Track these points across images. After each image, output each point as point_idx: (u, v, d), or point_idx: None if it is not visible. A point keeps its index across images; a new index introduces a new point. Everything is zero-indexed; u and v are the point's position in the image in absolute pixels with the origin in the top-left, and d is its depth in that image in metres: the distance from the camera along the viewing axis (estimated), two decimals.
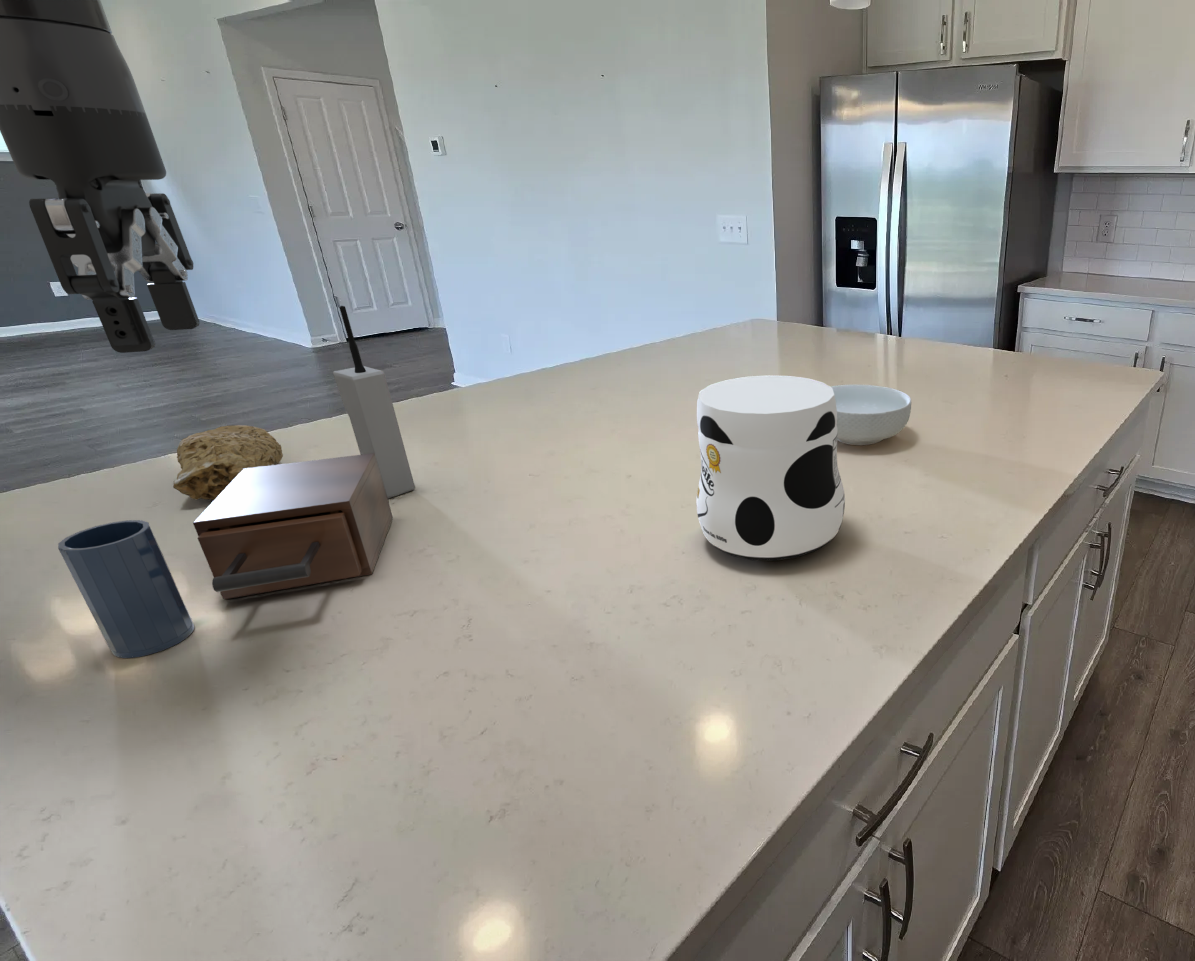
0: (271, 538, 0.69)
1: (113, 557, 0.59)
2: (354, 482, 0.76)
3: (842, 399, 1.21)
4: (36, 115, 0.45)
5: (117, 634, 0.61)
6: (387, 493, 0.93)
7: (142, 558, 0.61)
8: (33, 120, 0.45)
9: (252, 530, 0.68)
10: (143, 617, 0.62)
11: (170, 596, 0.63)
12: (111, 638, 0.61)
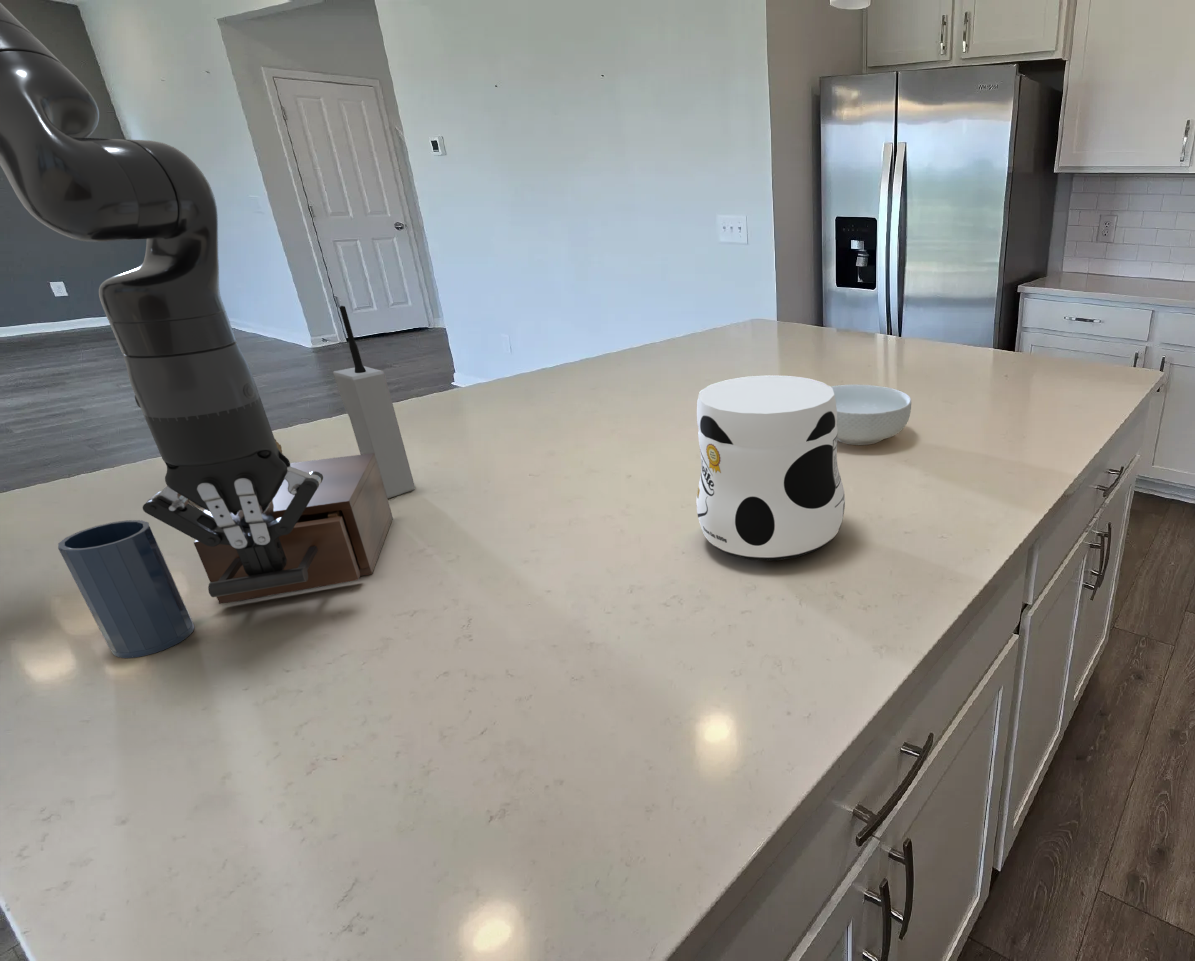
0: None
1: (113, 557, 0.59)
2: (354, 482, 0.76)
3: (842, 399, 1.21)
4: None
5: (117, 634, 0.61)
6: (387, 493, 0.93)
7: (142, 558, 0.61)
8: None
9: None
10: (143, 617, 0.62)
11: (170, 596, 0.63)
12: (111, 638, 0.61)
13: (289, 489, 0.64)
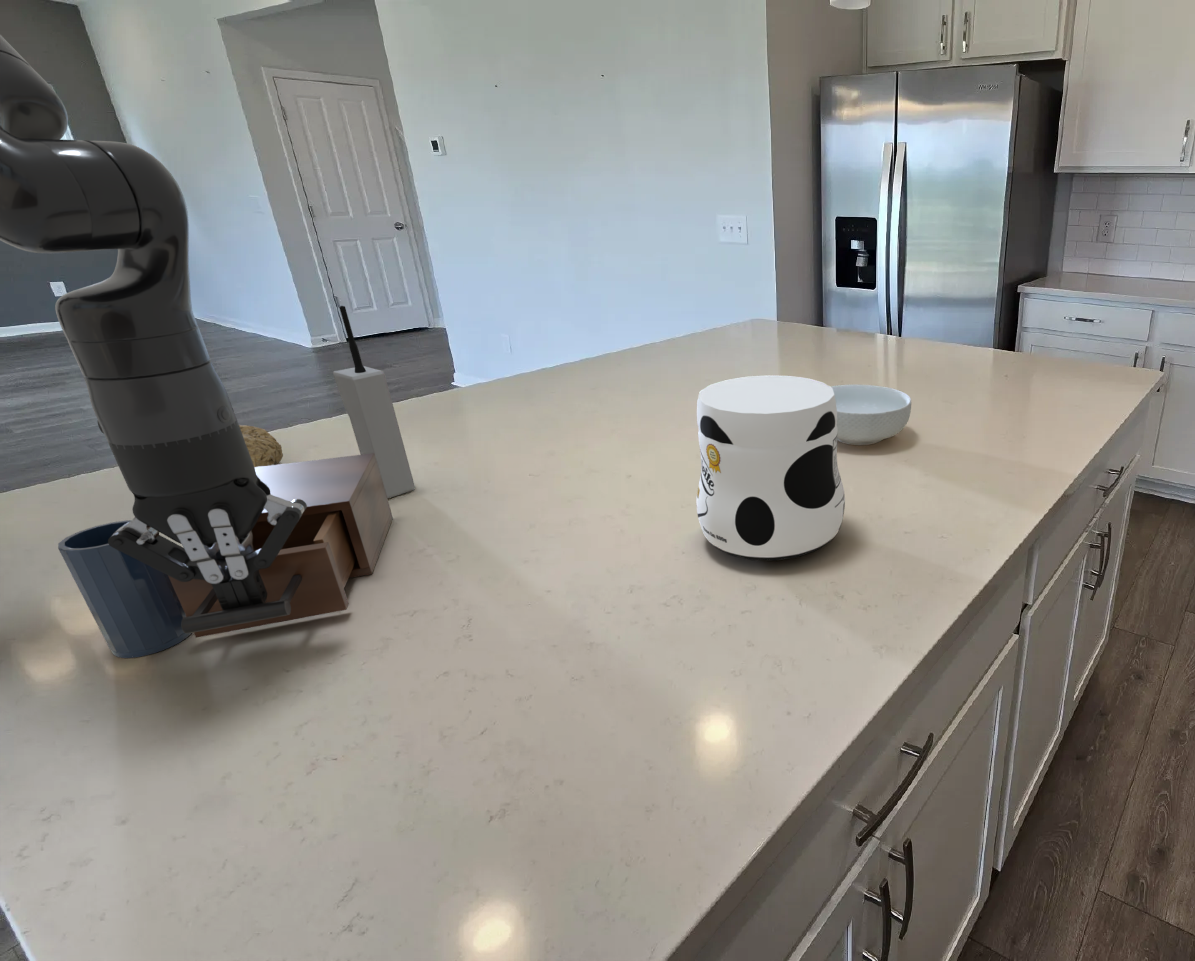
0: None
1: (113, 557, 0.59)
2: (354, 482, 0.76)
3: (842, 399, 1.21)
4: None
5: (117, 634, 0.61)
6: (387, 493, 0.93)
7: None
8: None
9: None
10: (143, 617, 0.62)
11: (170, 596, 0.63)
12: (111, 638, 0.61)
13: (269, 519, 0.59)
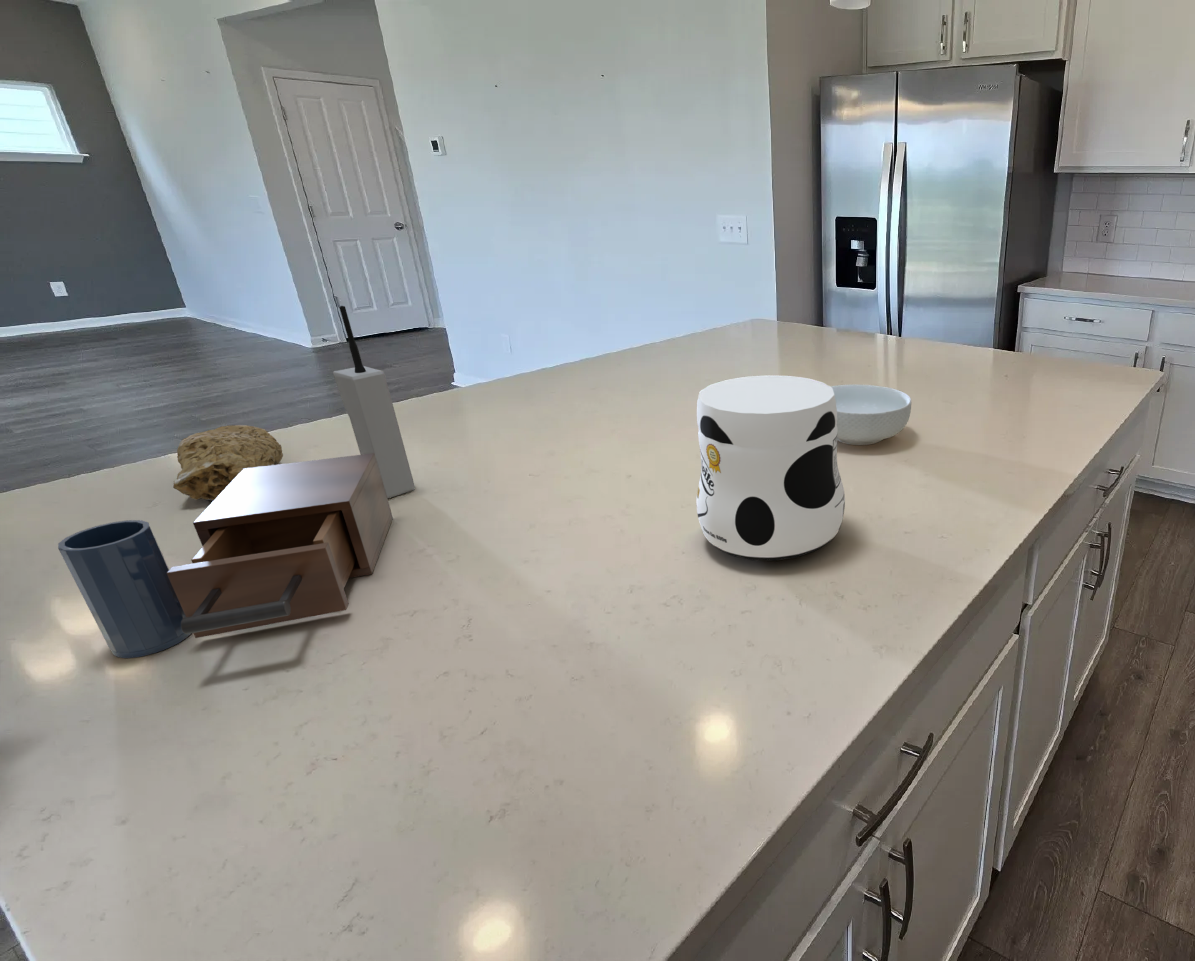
0: (248, 572, 0.63)
1: (113, 557, 0.59)
2: (354, 482, 0.76)
3: (842, 399, 1.21)
4: None
5: (117, 634, 0.61)
6: (387, 493, 0.93)
7: (142, 558, 0.61)
8: None
9: (227, 563, 0.62)
10: (143, 617, 0.62)
11: (170, 596, 0.63)
12: (111, 638, 0.61)
13: None
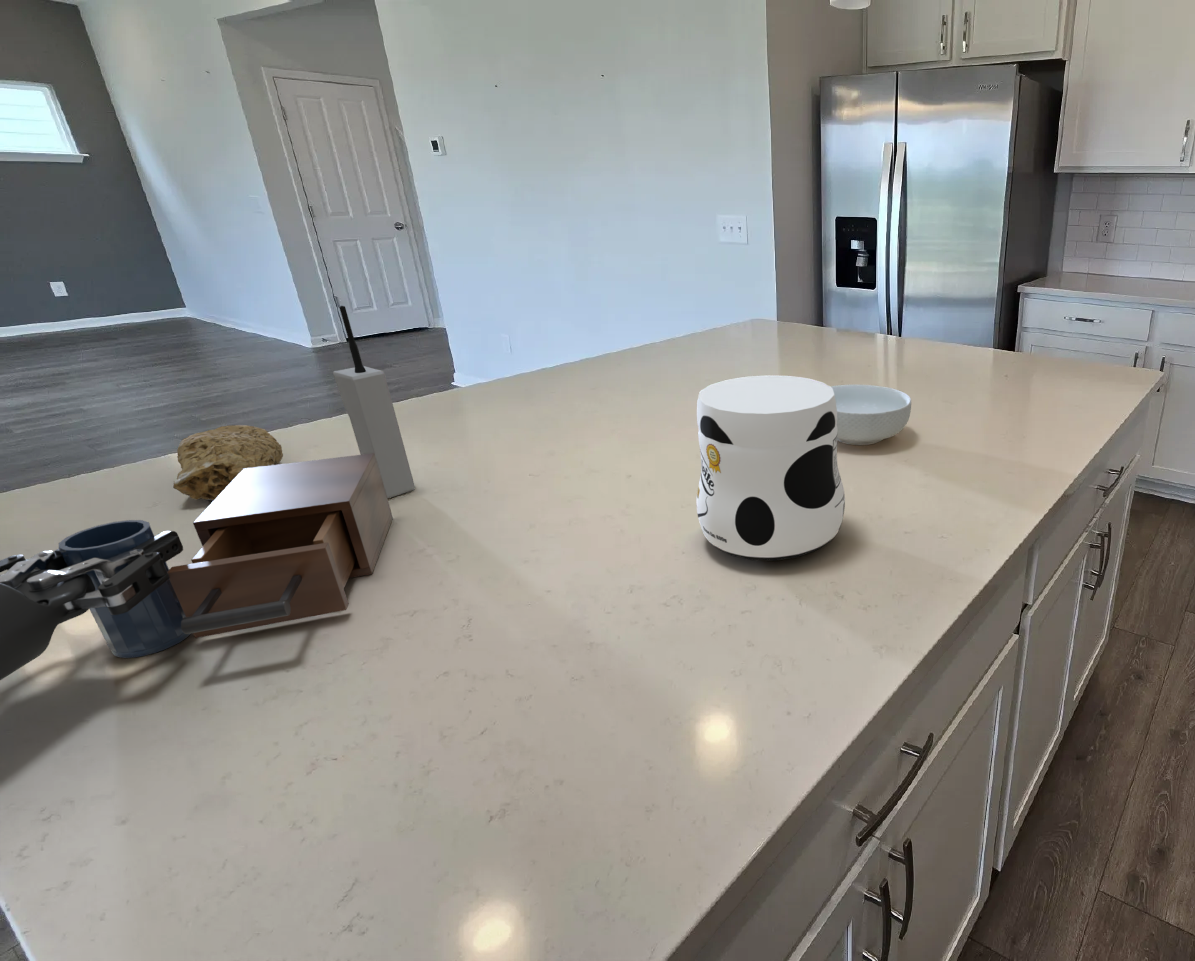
0: (248, 572, 0.63)
1: None
2: (354, 482, 0.76)
3: (842, 400, 1.21)
4: None
5: (117, 634, 0.61)
6: (387, 493, 0.93)
7: None
8: None
9: (227, 563, 0.62)
10: (143, 617, 0.62)
11: (170, 596, 0.63)
12: (111, 638, 0.61)
13: None
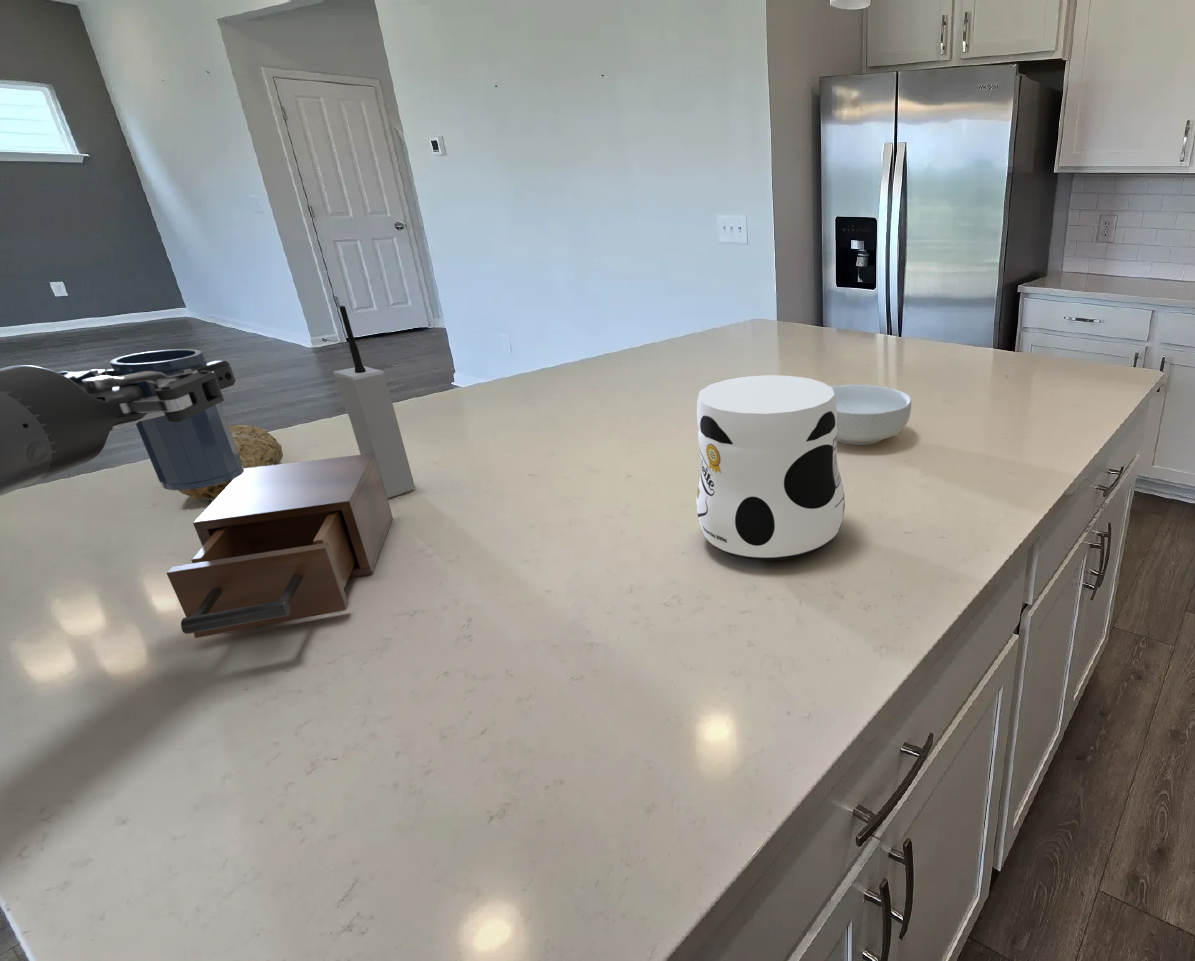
0: (248, 572, 0.63)
1: None
2: (354, 482, 0.76)
3: (842, 399, 1.21)
4: None
5: (168, 462, 0.59)
6: (387, 493, 0.93)
7: None
8: None
9: (227, 563, 0.62)
10: (195, 446, 0.59)
11: (222, 429, 0.61)
12: (162, 467, 0.59)
13: None
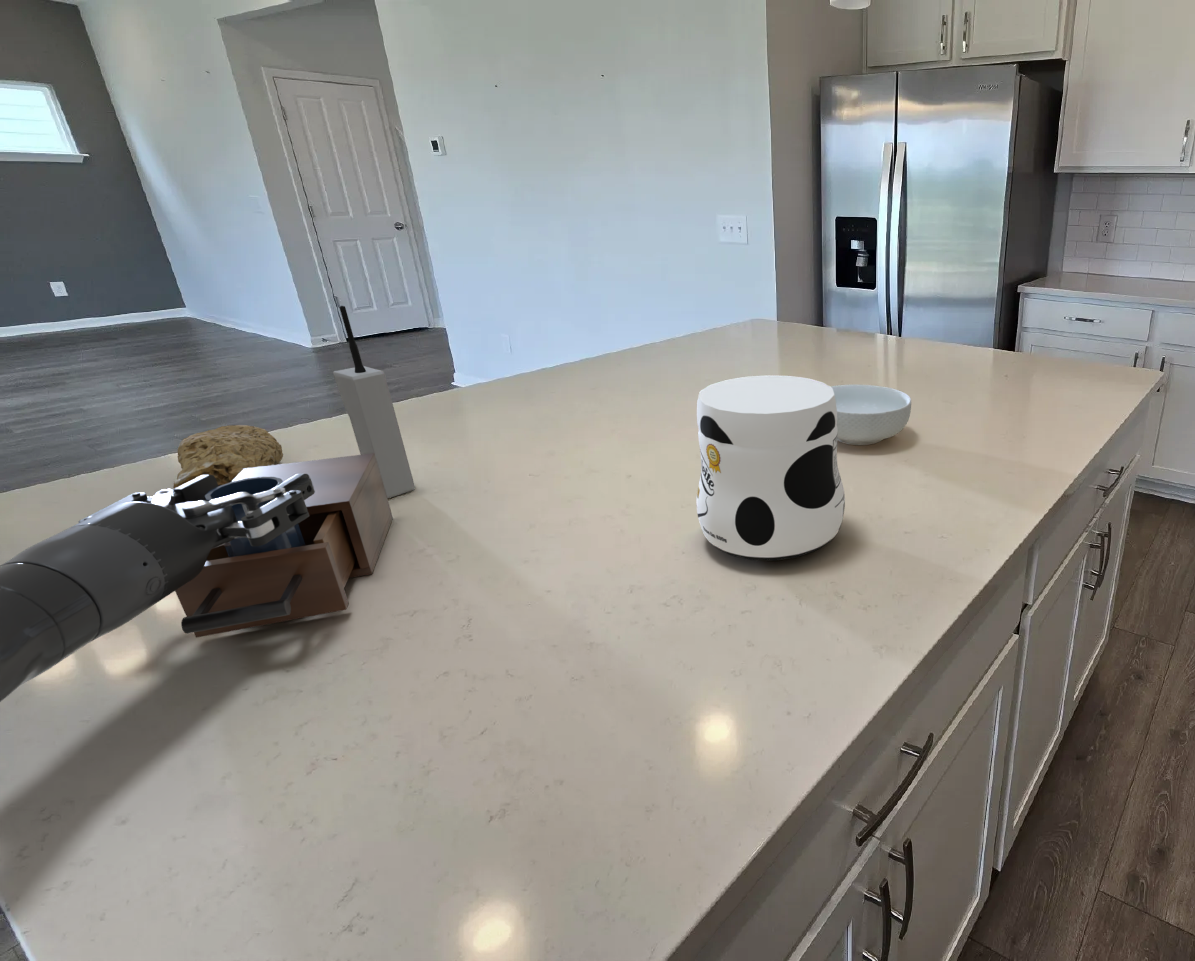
0: (249, 571, 0.63)
1: None
2: (354, 482, 0.76)
3: (842, 400, 1.21)
4: None
5: None
6: (387, 493, 0.93)
7: None
8: None
9: (227, 563, 0.62)
10: None
11: None
12: None
13: None
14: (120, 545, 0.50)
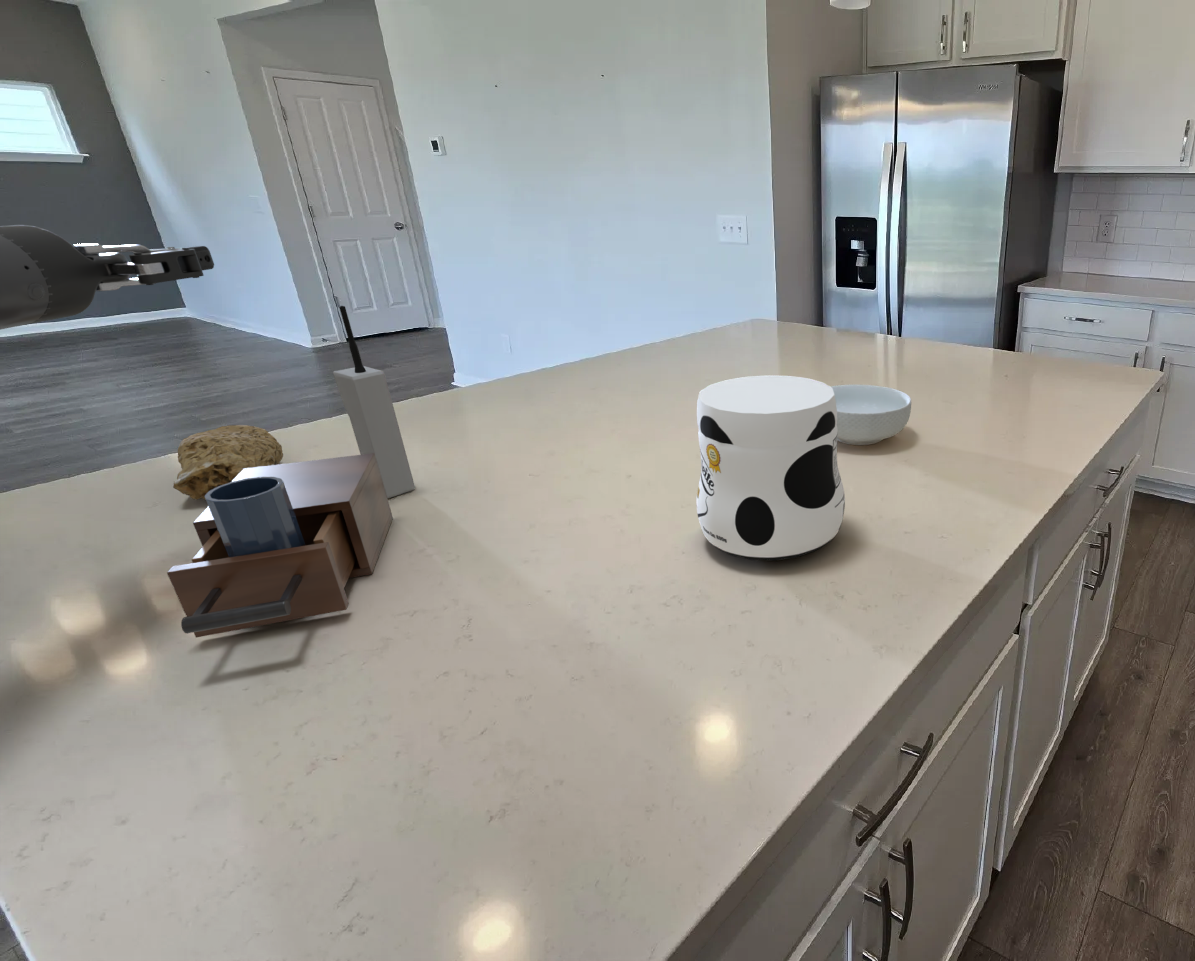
0: (249, 571, 0.63)
1: (255, 509, 0.63)
2: (354, 482, 0.76)
3: (842, 399, 1.21)
4: None
5: None
6: (387, 493, 0.93)
7: (279, 511, 0.65)
8: None
9: (227, 563, 0.62)
10: None
11: None
12: None
13: None
14: (1, 245, 0.54)
